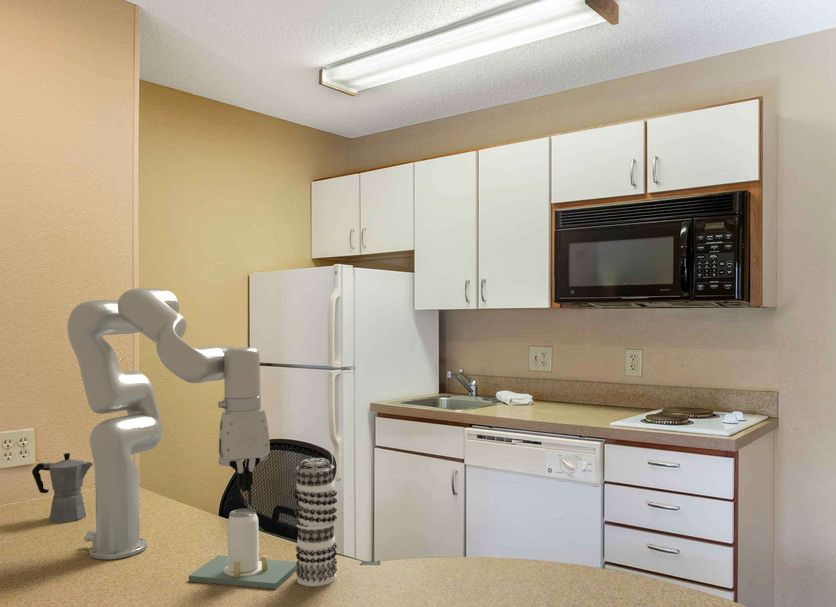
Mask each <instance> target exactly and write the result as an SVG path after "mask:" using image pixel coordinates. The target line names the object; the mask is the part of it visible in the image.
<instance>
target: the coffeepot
mask: <svg viewBox="0 0 836 607" xmlns="http://www.w3.org/2000/svg"><path fill="white" fill-rule="evenodd" d="M63 457H64V459H63V460H60V461H57V462H45V463H44V462H40V463H37V464H36V466H34V468H33V469H32V470H31V473H32V476H33V478H34V481H35V483H36V485H37V488H38V491H39V493H40V494H48V493H49V491H50V489H45V488H44V482H43V480H42V476H41V473H40V471H49V475H50V481H51V482H50V483H51V486H52V490H53V497H52V501H51V507H50V508H51V509H50V514H49V521H50V522H51V523H54V524H66V523H72V522H77V521H79V520H82V519H84V518H85V517H86V516H87V515H86V508H85V504H84V498H83V493H82V487H83V484H84V478H85V476H86V474H88V471H89V469H90V468H91V467H92V466H94V463H93V462H90V461H84V460H82V459H70V458H71V453H69V452H66V453H63Z"/></svg>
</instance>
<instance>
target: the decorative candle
mask: <svg viewBox="0 0 836 607" xmlns="http://www.w3.org/2000/svg"><path fill="white" fill-rule="evenodd" d="M334 468H335V465H333V464H331V462H330V461H329V459H327V458H324V457H311V458H309V457H308V458H306V459H303V460H302V461H301V462H300V464H299V465H298V466H297V467H295V470H296V472H297V473H296V475H297V478H296V479H297V481H296V486H295V487H294V488H293V491H294V492H293V493H292V494H293V499H295V500H294V504H293V505H294V507H295V509H294V515H295V516H296V519H295V520H294V521H295V526H296V527H297V531H298V532H297V542H296V543H297V545H296V546H295V551H296V552H297V553H296V554H295V557H296V558H295V559H297V561H296V567H297V570H296V571H295V573H296V581H297V583H298V584H300V585H302V586H306V587H320V586H321V587H322V586H326V585H329V584H332V583H333V582H335V581H336V580H337V578H338V577H337V576H338V575H337V572H338V568H337V564H338V561H337V558H336V556H337V554H338V553H337V550H336V549H337V547H338V546H337V543H336V536H335V526H334V525H335V524H336V523H337V521H336V520H337V519H338V516H337V515H336V514H335V513H336V512H337V510H338V509H337V508H336V507H334V505H335V504H336V503H337V502H338V499H337V498H335V497H336V496H337V495H338V491H336V490H334V489H335V480H334Z"/></svg>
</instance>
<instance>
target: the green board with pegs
mask: <svg viewBox="0 0 836 607" xmlns="http://www.w3.org/2000/svg"><path fill="white" fill-rule="evenodd" d="M296 562H297V561H293V560H280V559H268V555H266V554H265V555H261V547H260V546H259V566H258V567H257V569H255V570H253V571H251V572H247V573H240V562H234V572H231V571H230V570H229V568H228V555H216V556H215V557H214V558H212V559H210V560H209V561H208V562H206V563H205V564H203V565H202V566H200V567H199V568H198V569H196V570H194V571H193V572H192V573H190V574H189V575H188V582H191V581H194V582H193V583H202V582H204V583H203V584H213V583H215V584H214V585H224V586H225V585H226V586H237V587H245V588H246V587H248V588H257V587H260V589H268V588H269V590H277V589H278V588H279V587H280V586H281V585H283V583H284V582H286V581H287V580H288V579H289V578H290V577H291V576H292V575H293V574H294V573H296V570H297V567H296ZM270 588H271V589H270Z"/></svg>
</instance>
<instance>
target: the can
mask: <svg viewBox="0 0 836 607" xmlns="http://www.w3.org/2000/svg"><path fill="white" fill-rule="evenodd" d="M259 533H260V531H259V516H258V515H257V510H256V509H253V508H238V509H234V510H232V511H230V512H229V517H228V519H227V556H228V568H229V570H230V571H231V572H234V562H240V573H247V572H251V571H253V570H255V569H257V567H258V566H259V547H260V544H259V542H260V540H259V539H260V536H259V535H260V534H259Z"/></svg>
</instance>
